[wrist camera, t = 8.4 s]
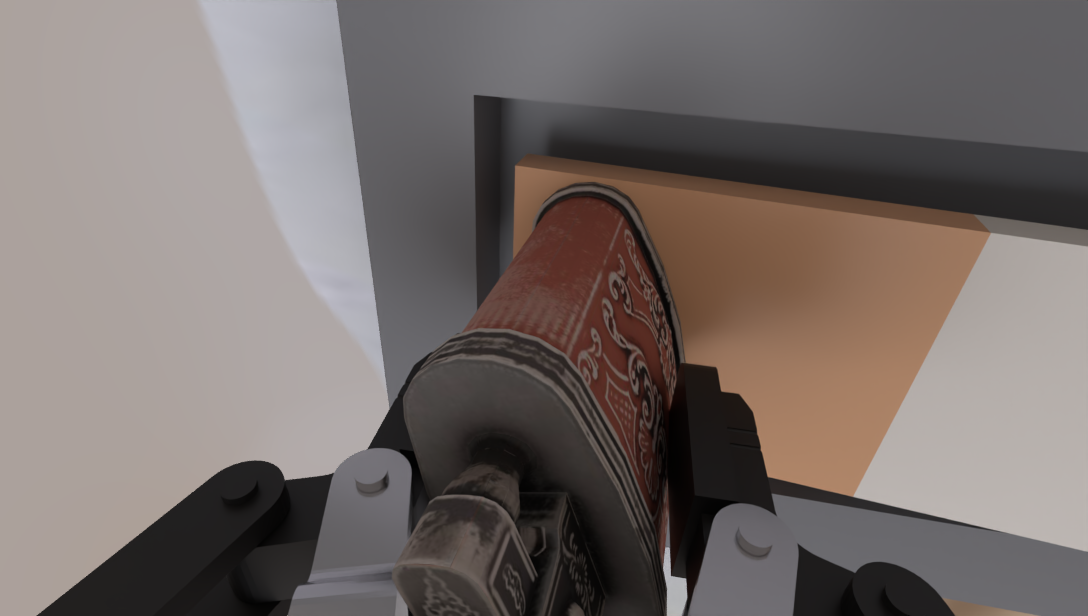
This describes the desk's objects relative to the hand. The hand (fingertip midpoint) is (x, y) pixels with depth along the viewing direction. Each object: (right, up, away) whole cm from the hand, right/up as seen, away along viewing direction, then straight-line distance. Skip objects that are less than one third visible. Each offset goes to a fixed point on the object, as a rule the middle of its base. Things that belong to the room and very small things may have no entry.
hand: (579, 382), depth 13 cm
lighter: (+1, +1, +3) cm, 3 cm away
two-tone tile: (+8, 0, +1) cm, 8 cm away
